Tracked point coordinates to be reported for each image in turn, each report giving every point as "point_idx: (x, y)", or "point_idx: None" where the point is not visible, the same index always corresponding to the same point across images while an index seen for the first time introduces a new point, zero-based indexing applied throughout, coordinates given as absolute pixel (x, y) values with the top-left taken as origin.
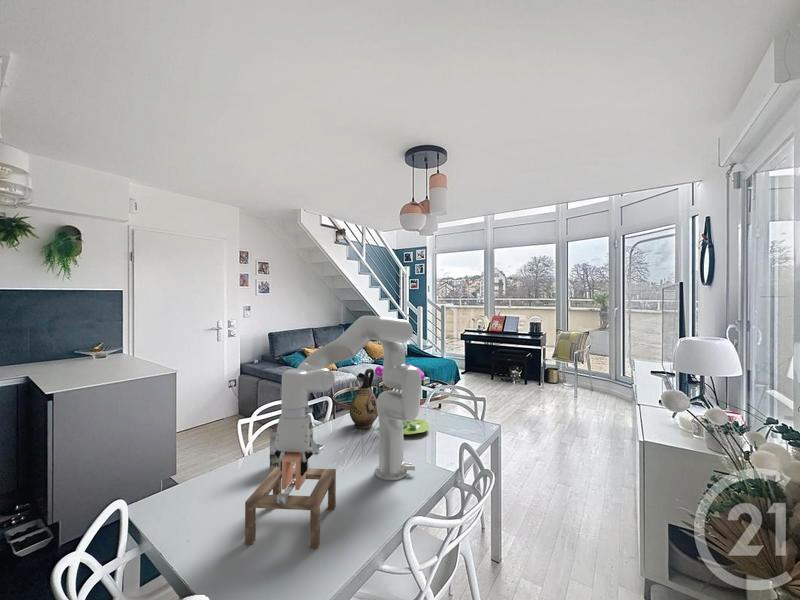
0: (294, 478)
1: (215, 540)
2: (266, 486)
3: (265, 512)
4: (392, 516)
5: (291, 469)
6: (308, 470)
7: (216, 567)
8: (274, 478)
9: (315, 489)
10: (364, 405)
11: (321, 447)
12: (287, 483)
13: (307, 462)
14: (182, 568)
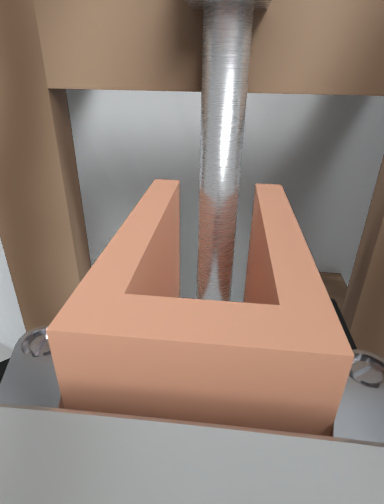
0: (211, 252)
1: (3, 253)
2: (53, 269)
3: (67, 89)
4: None
5: (165, 239)
6: (277, 6)
7: None
8: (43, 171)
9: (371, 304)
10: None
11: None
12: (177, 280)
13: (351, 346)
14: (7, 339)
